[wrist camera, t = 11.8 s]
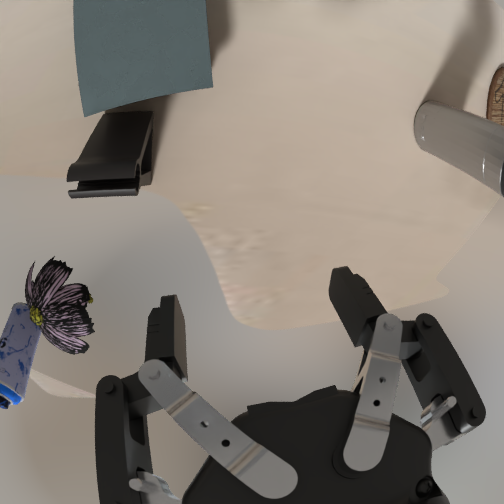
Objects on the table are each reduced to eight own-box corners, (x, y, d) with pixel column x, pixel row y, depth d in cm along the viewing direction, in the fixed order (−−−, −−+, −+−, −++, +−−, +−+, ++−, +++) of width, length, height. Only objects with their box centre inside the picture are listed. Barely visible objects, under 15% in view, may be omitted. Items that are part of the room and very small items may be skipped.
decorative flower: (21, 267, 22) (93, 366, 27) (79, 226, 32) (132, 312, 38) (-3, 292, 27) (51, 366, 32) (40, 257, 37) (85, 325, 42)
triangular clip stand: (104, 113, 25) (62, 132, 15) (154, 111, 26) (135, 126, 17) (105, 184, 30) (74, 235, 20) (151, 183, 31) (137, 234, 22)
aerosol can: (22, 296, 35) (-12, 391, 19) (51, 323, 40) (29, 417, 24) (7, 310, 35) (-23, 395, 19) (33, 334, 40) (13, 418, 24)
